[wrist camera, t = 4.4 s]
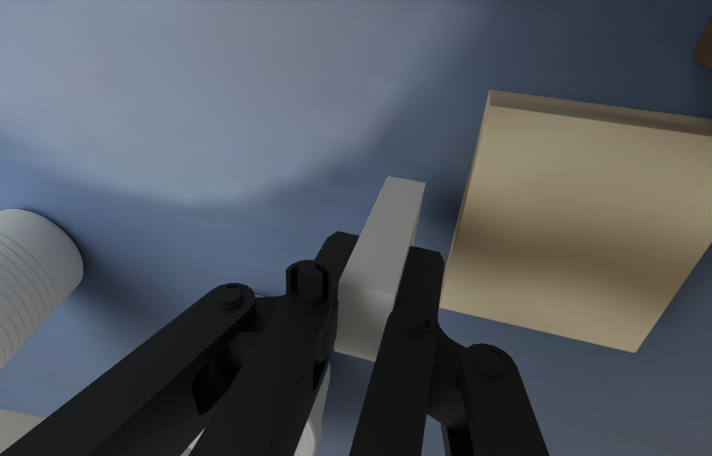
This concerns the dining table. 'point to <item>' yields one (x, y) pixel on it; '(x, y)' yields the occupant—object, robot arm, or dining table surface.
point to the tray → (704, 48)
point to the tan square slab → (580, 217)
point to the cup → (32, 275)
